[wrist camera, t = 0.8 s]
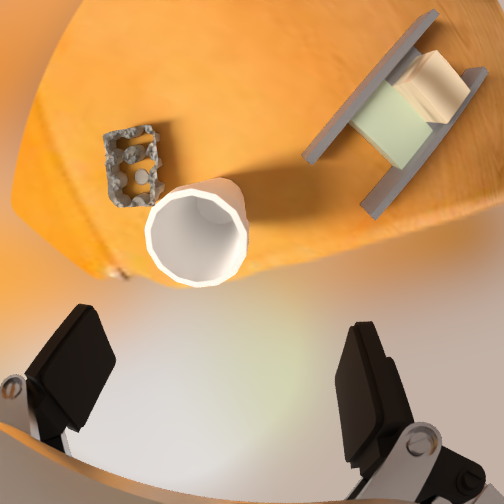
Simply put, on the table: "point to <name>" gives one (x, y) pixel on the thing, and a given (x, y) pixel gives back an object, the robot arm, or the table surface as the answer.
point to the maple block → (432, 87)
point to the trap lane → (391, 71)
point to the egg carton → (132, 156)
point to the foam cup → (199, 232)
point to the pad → (391, 125)
